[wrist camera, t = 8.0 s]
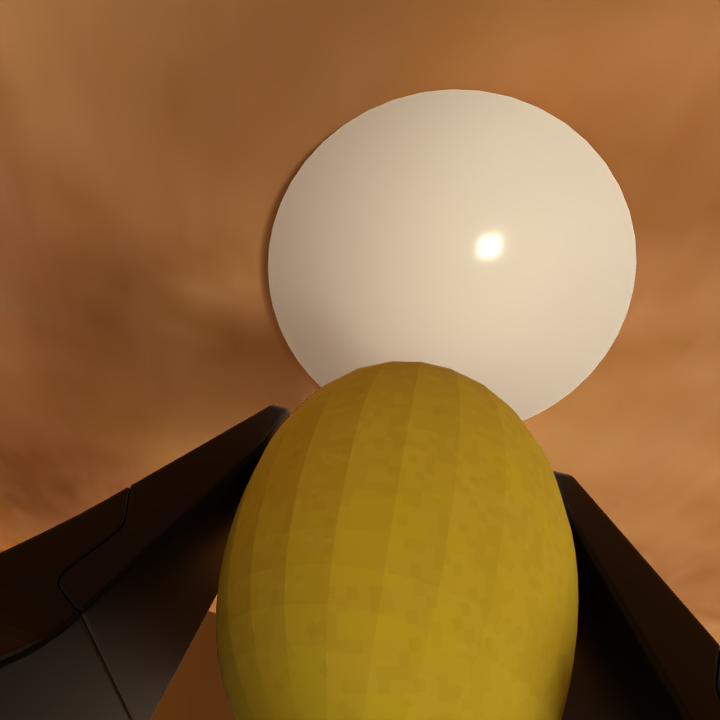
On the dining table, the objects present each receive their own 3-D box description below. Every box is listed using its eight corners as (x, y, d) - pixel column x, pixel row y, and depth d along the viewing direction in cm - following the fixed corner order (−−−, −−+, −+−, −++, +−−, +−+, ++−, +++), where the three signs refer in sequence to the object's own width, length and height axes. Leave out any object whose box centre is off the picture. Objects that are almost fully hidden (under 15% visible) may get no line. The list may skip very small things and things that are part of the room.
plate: (708, 121, 13) (726, 122, 12) (547, 450, 20) (551, 465, 19) (278, 66, 14) (266, 62, 14) (275, 388, 22) (268, 399, 21)
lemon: (444, 504, 12) (420, 966, 6) (285, 410, 12) (52, 799, 5) (589, 384, 9) (892, 1052, 3) (385, 251, 9) (140, 681, 2)
